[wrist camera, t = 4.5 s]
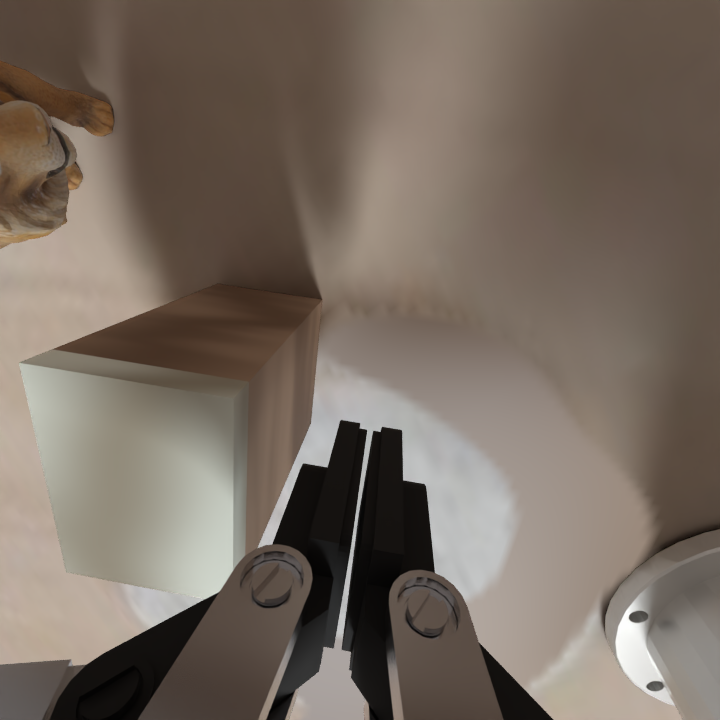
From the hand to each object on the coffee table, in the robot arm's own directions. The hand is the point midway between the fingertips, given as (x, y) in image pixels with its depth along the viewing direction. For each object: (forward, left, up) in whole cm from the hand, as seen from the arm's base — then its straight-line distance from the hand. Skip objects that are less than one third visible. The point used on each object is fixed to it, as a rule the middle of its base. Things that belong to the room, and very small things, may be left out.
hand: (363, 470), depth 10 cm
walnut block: (+5, 0, -7) cm, 8 cm away
